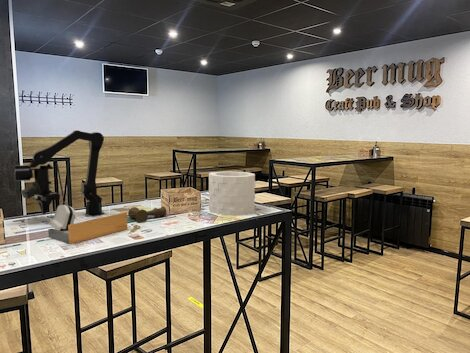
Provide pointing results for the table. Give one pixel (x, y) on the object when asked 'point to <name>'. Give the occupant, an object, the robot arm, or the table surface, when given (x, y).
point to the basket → (231, 193)
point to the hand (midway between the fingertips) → (44, 213)
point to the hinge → (63, 217)
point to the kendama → (145, 213)
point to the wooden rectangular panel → (91, 228)
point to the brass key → (135, 228)
